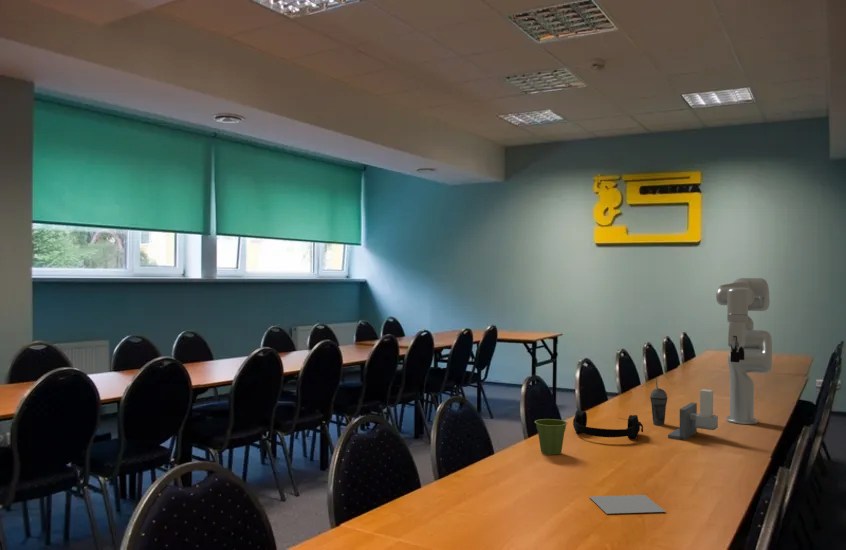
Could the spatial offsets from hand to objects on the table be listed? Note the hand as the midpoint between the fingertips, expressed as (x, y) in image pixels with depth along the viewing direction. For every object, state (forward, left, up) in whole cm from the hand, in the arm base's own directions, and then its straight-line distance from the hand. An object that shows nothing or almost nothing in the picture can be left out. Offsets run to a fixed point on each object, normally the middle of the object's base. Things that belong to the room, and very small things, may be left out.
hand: (737, 360), depth 268 cm
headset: (+30, -43, -31) cm, 60 cm away
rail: (+12, -9, -25) cm, 29 cm away
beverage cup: (-2, -32, -31) cm, 44 cm away
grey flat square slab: (+102, -8, -31) cm, 107 cm away
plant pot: (+70, -49, -31) cm, 91 cm away
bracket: (+12, -14, -30) cm, 35 cm away
